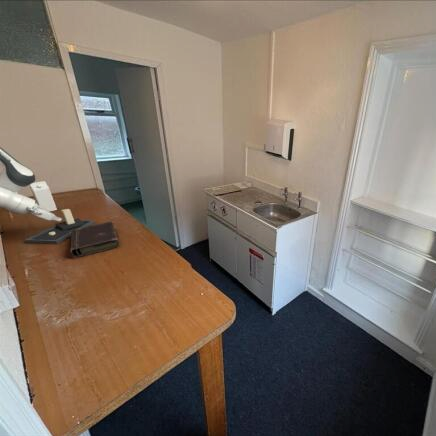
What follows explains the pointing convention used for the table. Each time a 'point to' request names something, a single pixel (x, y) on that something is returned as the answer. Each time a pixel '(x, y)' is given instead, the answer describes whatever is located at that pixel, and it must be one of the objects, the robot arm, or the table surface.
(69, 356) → the table surface
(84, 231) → the diary
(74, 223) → the loose pad
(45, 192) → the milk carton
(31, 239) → the grey shallow rectangular tray
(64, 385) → the table surface
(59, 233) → the pad
